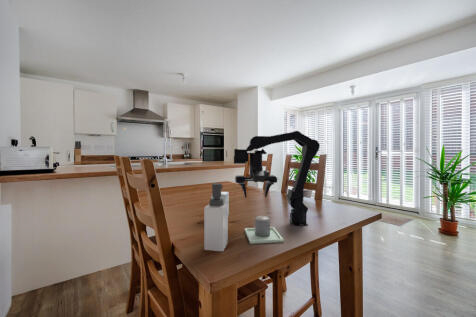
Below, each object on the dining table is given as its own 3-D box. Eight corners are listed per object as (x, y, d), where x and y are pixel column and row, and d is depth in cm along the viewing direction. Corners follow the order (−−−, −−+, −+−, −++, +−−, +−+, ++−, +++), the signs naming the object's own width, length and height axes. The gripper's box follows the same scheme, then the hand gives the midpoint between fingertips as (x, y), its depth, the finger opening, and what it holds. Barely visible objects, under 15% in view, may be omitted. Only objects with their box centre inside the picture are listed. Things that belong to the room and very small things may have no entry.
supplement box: (225, 220, 102) (225, 194, 102) (210, 219, 104) (210, 193, 103) (229, 216, 109) (229, 191, 109) (215, 215, 111) (215, 191, 110)
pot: (268, 231, 88) (268, 215, 88) (271, 237, 82) (271, 220, 82) (253, 231, 87) (253, 215, 87) (256, 237, 81) (256, 220, 81)
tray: (273, 229, 91) (273, 227, 91) (283, 242, 78) (283, 239, 78) (244, 230, 89) (244, 228, 89) (249, 243, 77) (249, 240, 77)
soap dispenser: (228, 240, 79) (229, 181, 79) (222, 251, 71) (223, 185, 70) (212, 239, 80) (212, 181, 80) (204, 249, 72) (204, 184, 71)
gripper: (237, 165, 88) (237, 202, 89) (281, 165, 91) (280, 201, 91) (235, 163, 100) (234, 196, 100) (273, 163, 102) (273, 195, 102)
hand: (255, 197), depth 98 cm, fingers open, 9 cm apart
